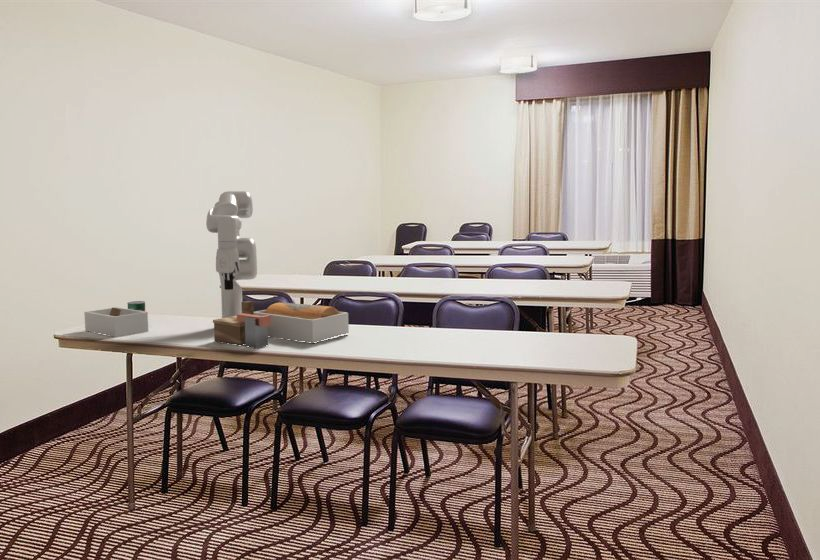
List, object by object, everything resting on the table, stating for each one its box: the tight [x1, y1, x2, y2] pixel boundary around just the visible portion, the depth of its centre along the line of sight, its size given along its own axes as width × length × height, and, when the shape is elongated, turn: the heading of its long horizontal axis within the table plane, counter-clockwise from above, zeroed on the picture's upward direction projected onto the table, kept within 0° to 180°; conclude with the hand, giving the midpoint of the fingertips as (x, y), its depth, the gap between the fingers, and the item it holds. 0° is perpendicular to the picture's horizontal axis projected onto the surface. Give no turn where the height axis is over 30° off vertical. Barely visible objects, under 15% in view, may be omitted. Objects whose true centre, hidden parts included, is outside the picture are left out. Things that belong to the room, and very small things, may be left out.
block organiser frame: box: [83, 306, 149, 338], centre depth 307 cm, size 16×24×9 cm, turn 55°
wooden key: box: [237, 313, 271, 327], centre depth 276 cm, size 4×16×4 cm, turn 55°
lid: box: [212, 300, 255, 327], centre depth 285 cm, size 15×17×8 cm
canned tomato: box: [126, 300, 146, 312], centre depth 323 cm, size 8×8×11 cm
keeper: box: [245, 317, 269, 349], centre depth 275 cm, size 7×6×12 cm
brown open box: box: [213, 323, 246, 346], centre depth 286 cm, size 14×16×8 cm
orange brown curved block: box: [265, 302, 340, 320], centre depth 298 cm, size 30×16×14 cm, turn 62°
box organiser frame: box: [254, 309, 350, 343], centre depth 299 cm, size 23×36×10 cm, turn 55°
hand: (228, 289), depth 282 cm, fingers closed
